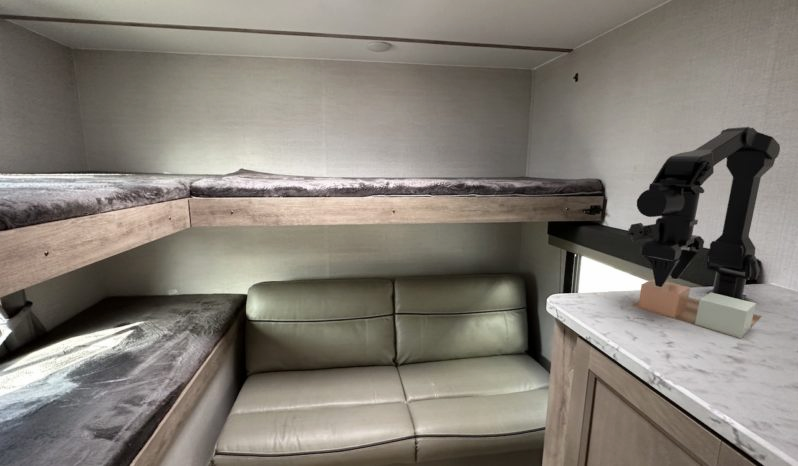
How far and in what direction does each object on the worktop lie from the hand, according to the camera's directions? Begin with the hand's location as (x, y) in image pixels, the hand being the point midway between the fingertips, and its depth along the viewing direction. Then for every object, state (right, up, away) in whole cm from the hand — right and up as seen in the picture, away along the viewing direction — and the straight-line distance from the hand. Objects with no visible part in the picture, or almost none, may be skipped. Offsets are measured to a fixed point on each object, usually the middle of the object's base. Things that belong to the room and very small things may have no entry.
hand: (666, 282), depth 78 cm
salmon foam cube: (0, -6, +1) cm, 6 cm away
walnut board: (+7, -8, 0) cm, 10 cm away
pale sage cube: (+6, -8, -7) cm, 12 cm away
